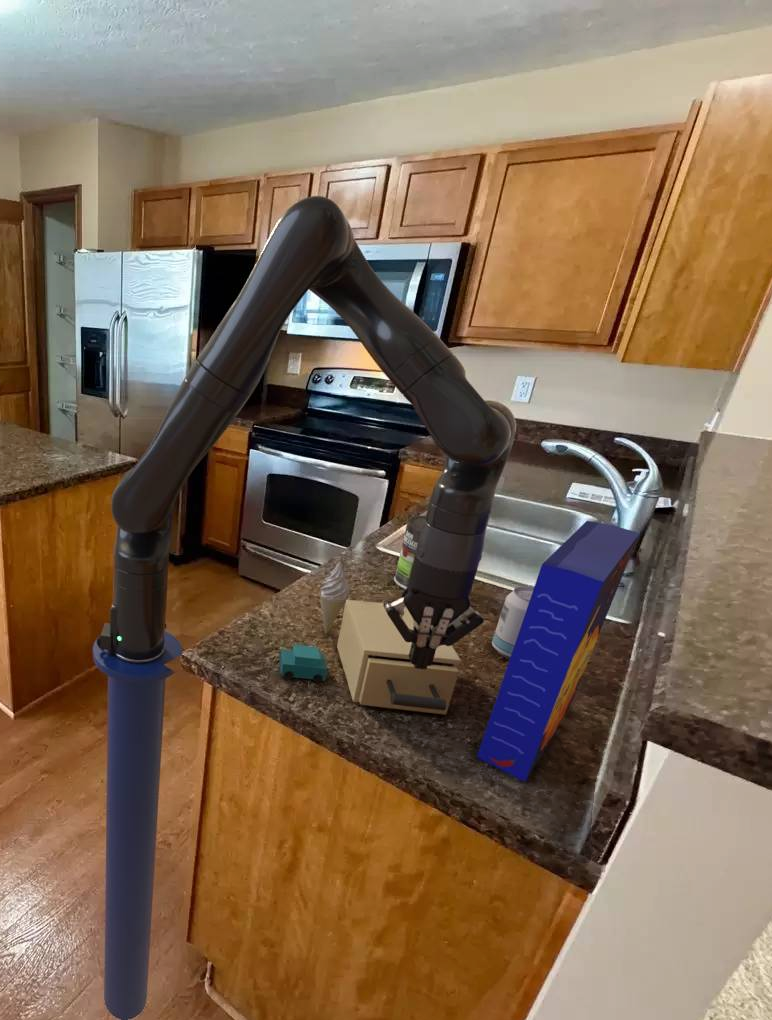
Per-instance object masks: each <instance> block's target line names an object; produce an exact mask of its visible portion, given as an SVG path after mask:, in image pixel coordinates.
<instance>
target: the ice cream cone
mask: <svg viewBox="0 0 772 1020" xmlns="http://www.w3.org/2000/svg"><path fill="white" fill-rule="evenodd" d="M329 573H330V576H328V577H325V578H324V580H326V581H322V582H321V584H322V585H323V586H322V587H321V588H320V590H319V591H318V595H319V599H320V604H321V605H320V606H321V613H322V621H323V628H324V633H325V634H329V632H330V630H331V628H332V627H333V625H334V623H335V622H336V619H337V618H338V616H339V614H340V612H341V611H342V609H343V606H345V603H346V600H349V595H350V590H351V587H350V584H349V582H348V581H347V580H346V573H345V571H344V568H343V565H342V560H339V561H338V563H337V564H336V566H335V567H334V568H333V569H332V571H330V572H329Z"/></svg>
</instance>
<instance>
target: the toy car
mask: <svg viewBox="0 0 772 1020" xmlns="http://www.w3.org/2000/svg"><path fill="white" fill-rule="evenodd" d="M279 668H280V669H279V670H280V676H281V677H284V678H285V679H288V680H291V679H293V678H296V679H307V680H313V681H314V682H316V683H321V682H323V681H324V682H326V678H327V673H328V666H327V662H326V657H325V654H324V653H323V652H320V651H319V647H318V646H313V645H312V646H311V645H302V644H293V645H292V649H284V648H281V649H280V654H279Z"/></svg>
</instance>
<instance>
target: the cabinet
mask: <svg viewBox="0 0 772 1020" xmlns="http://www.w3.org/2000/svg"><path fill="white" fill-rule="evenodd" d="M383 604H384V602H374V601H366V600H365V601H364V600H354V599H352V600H351V599H347V600H346V601H345V603H344V609H343V614H342V618H341V619H342V620H341V624H340V630H339V635H338V639H337V645H336V648H337V652H338V654H339V658H340V661H341V665H342V668H343V671H344V675H345V679H346V682H347V685H348V689H349V692H350V696H351V700H352V703H359V704H360V702H359V697H360V692H361V688H362V683H363V679H364V674H365V670H366V665H367V661H368V656H369V655H373V656H383V657H392V658H402V659H409V652H410V648H411V644H412V642H406V641H405V640H404V639H403V637H402V636H401V634H400V633H399V631H398V630H397V628H396V627H395V625H394V624H393V622H392V621H391V619H390V618H389V616H388V614H387V612H386V610H385V608H384V606H383ZM402 619H403V620H404V622H405V623H406V625H407V626H408V628H409V629H411V630H413V618H412V616H411V614H410V613H409V611H408V609H407V608H406V607H404V615H403V617H402ZM433 662H439V663H448V664H447V666H450V667H456V668H457V669H458V670H459V668H460V665H461V662H462V659H461V658H460V656H459V654H458V653H457V651H456V649H455V648H454V646H453V645H451V646H446V645H441V646H438V647H437V648H436V651H435V655H434V659H433Z"/></svg>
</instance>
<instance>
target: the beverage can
mask: <svg viewBox="0 0 772 1020" xmlns="http://www.w3.org/2000/svg"><path fill="white" fill-rule="evenodd" d="M533 589H534V587H530V586H517V587H514V589H513V590H512V591H511V592H510V593H509V594H508V595H507V596H505V600H504V603H503V607H502V609H501V612H500V616H499V619H498V622H497V626H496V628H495V631H494V634H493V638H492V641H491V645H492V647H493V648H494V650H496V651H497V653H498V654H499V655H501V656H502V657H504V658H506V659H508V660H510V657H511V654H512V651H513V648H514V646H515V643H516V640H517V637H518V634H519V631H520V628H521V625H522V622H523V619H524V616H525V613H526V610H527V607H528V604H529V601H530V598H531V595H532V592H533Z"/></svg>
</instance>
